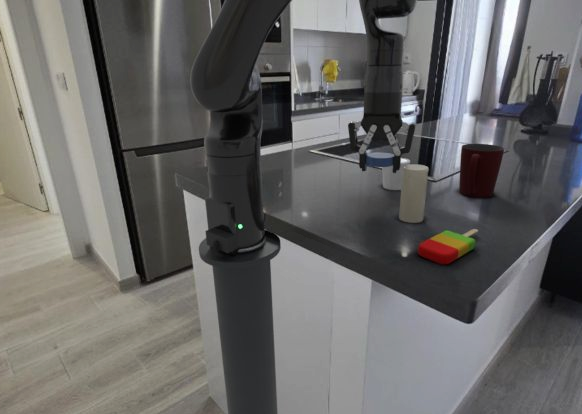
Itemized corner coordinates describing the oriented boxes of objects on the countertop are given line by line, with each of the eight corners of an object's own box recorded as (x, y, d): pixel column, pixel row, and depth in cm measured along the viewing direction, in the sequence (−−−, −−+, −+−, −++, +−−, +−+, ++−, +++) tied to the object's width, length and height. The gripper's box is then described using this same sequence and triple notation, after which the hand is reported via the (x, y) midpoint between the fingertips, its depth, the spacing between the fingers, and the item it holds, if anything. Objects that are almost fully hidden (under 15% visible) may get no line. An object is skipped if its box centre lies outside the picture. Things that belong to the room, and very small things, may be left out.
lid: (377, 159, 85) (377, 151, 85) (399, 163, 81) (400, 155, 81) (359, 164, 82) (360, 155, 81) (382, 168, 78) (382, 159, 77)
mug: (488, 205, 83) (497, 155, 79) (447, 198, 88) (453, 150, 84) (499, 191, 92) (507, 146, 88) (461, 185, 97) (467, 142, 93)
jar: (418, 224, 73) (423, 171, 70) (394, 219, 76) (398, 167, 72) (427, 217, 77) (432, 166, 73) (404, 212, 80) (408, 163, 76)
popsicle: (414, 254, 62) (415, 244, 61) (461, 230, 71) (462, 220, 70) (445, 267, 58) (446, 256, 57) (490, 239, 67) (492, 229, 66)
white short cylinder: (393, 192, 92) (396, 164, 90) (374, 185, 98) (376, 159, 95) (413, 187, 96) (416, 160, 93) (394, 181, 101) (396, 155, 99)
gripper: (421, 88, 77) (414, 169, 83) (351, 88, 82) (349, 165, 88) (419, 90, 71) (412, 178, 77) (343, 91, 75) (342, 173, 81)
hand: (379, 171), depth 82 cm, fingers closed on lid, 6 cm apart
